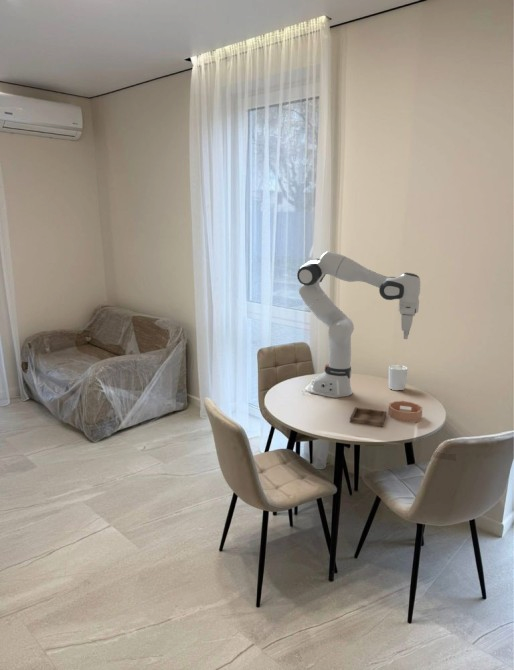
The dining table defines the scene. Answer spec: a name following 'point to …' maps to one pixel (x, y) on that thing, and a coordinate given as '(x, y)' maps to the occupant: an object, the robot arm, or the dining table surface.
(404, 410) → the off-white cube block
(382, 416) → the walnut tray
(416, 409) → the terracotta bowl
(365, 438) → the dining table surface
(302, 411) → the dining table surface
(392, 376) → the candle holder
